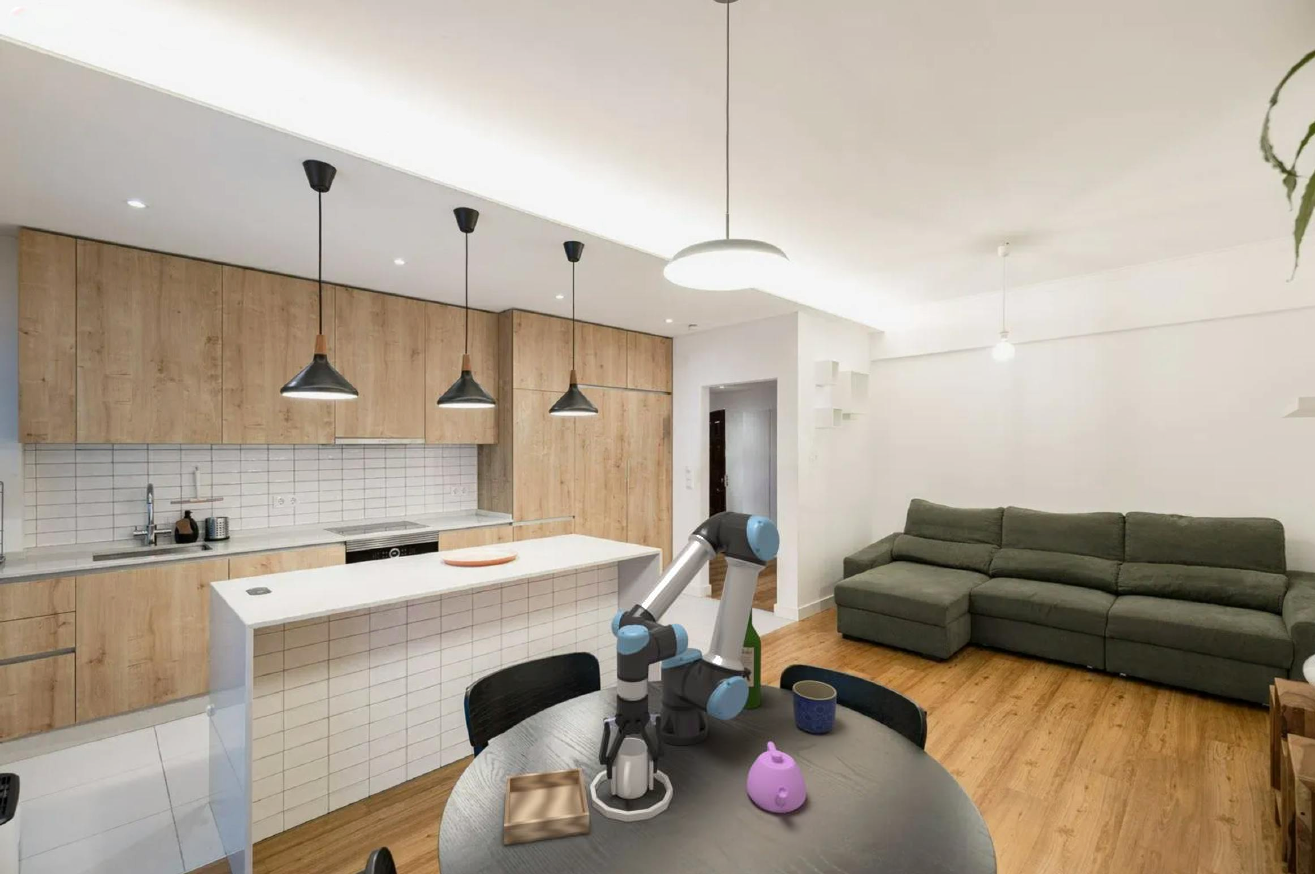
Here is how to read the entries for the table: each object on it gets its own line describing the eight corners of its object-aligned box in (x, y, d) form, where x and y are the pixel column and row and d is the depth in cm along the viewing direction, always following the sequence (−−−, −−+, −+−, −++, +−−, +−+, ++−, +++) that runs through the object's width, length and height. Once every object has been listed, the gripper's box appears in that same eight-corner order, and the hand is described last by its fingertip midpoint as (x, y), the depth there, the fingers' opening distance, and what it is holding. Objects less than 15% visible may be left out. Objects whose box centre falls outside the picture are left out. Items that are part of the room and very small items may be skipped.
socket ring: (661, 766, 149) (661, 760, 149) (680, 814, 131) (680, 807, 131) (586, 775, 145) (586, 769, 145) (596, 826, 126) (596, 819, 126)
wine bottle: (731, 707, 181) (732, 603, 181) (732, 695, 190) (733, 595, 189) (760, 710, 180) (761, 605, 179) (760, 697, 188) (761, 597, 188)
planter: (801, 712, 179) (802, 676, 179) (841, 724, 172) (842, 687, 171) (785, 728, 169) (785, 691, 169) (827, 742, 162) (827, 703, 161)
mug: (642, 812, 131) (643, 766, 131) (606, 808, 132) (607, 763, 132) (649, 780, 143) (650, 738, 143) (616, 777, 144) (617, 736, 144)
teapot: (751, 827, 127) (752, 779, 127) (742, 773, 147) (743, 731, 147) (815, 830, 126) (816, 781, 126) (797, 775, 146) (798, 733, 146)
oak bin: (581, 783, 141) (581, 767, 141) (589, 833, 124) (589, 814, 124) (506, 793, 138) (506, 776, 137) (504, 845, 120) (504, 826, 120)
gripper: (671, 682, 144) (671, 773, 144) (586, 690, 139) (585, 784, 139) (679, 696, 136) (678, 792, 137) (589, 705, 132) (589, 804, 132)
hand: (631, 788), depth 138 cm, fingers closed on mug, 8 cm apart
